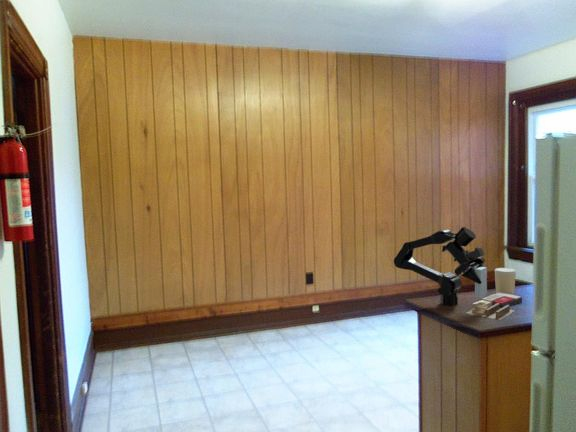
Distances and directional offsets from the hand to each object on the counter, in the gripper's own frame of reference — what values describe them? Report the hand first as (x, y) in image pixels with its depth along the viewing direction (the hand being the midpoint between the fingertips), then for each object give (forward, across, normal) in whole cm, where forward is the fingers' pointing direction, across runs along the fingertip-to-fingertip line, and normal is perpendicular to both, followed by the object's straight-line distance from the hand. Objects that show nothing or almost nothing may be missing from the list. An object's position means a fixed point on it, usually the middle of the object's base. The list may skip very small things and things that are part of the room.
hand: (484, 281), depth 192 cm
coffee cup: (+6, +35, +13) cm, 38 cm away
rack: (+11, 0, +8) cm, 14 cm away
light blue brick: (+4, 0, +6) cm, 7 cm away
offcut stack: (+8, 0, +9) cm, 12 cm away
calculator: (+10, +16, +10) cm, 22 cm away
